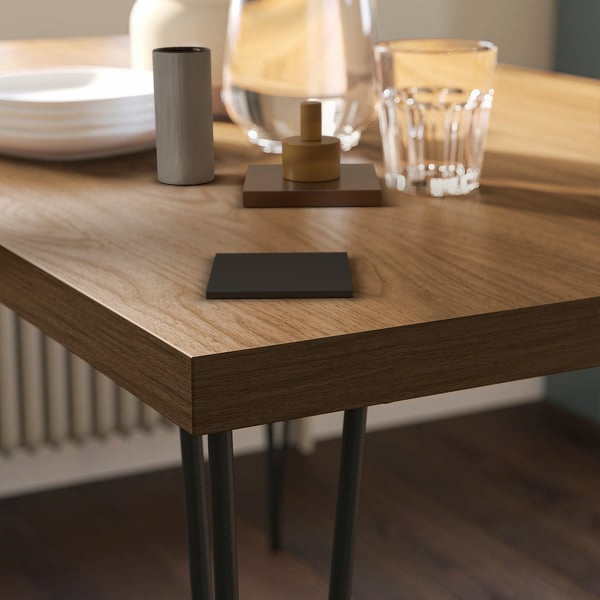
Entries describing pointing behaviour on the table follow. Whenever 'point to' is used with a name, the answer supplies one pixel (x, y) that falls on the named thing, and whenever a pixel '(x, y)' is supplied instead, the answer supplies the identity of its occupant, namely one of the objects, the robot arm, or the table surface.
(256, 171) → the ring holder
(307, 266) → the mat
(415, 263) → the table surface
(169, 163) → the planter
